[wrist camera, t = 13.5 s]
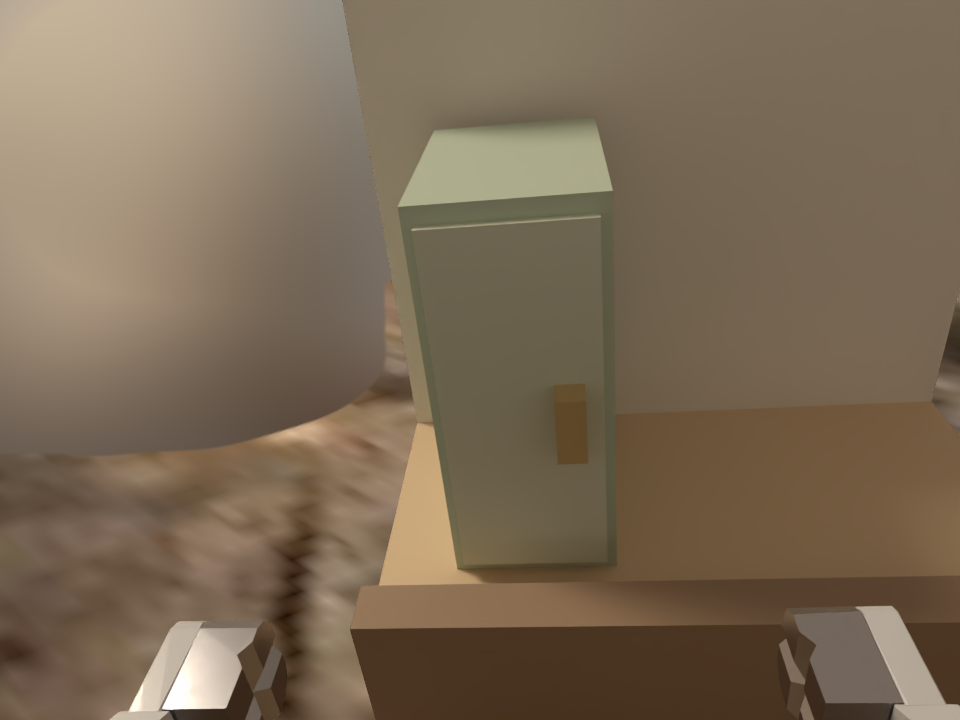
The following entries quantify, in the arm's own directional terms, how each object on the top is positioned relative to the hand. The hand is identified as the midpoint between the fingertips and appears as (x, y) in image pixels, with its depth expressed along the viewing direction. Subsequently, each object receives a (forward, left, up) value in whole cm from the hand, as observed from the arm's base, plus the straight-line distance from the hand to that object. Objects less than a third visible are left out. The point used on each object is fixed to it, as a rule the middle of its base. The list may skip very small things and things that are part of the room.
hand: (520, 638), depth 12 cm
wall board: (+5, +12, -12) cm, 17 cm away
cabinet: (0, +12, -8) cm, 15 cm away
